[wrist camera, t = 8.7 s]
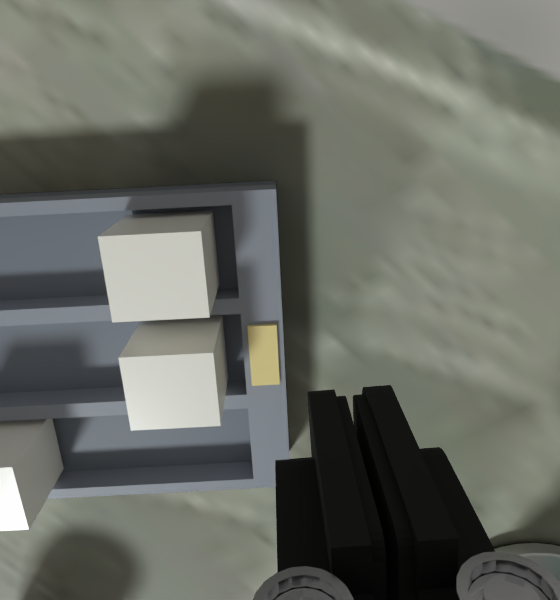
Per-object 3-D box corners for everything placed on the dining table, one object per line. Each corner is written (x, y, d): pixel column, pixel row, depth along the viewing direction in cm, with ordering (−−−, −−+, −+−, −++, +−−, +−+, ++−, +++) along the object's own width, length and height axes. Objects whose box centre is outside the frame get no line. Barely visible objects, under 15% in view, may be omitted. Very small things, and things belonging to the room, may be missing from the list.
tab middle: (222, 313, 26) (213, 352, 22) (228, 377, 27) (220, 426, 23) (142, 317, 26) (118, 357, 22) (152, 381, 27) (130, 430, 23)
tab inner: (51, 413, 28) (11, 467, 24) (63, 468, 29) (28, 529, 25) (-24, 417, 28) (-76, 471, 24) (-8, 472, 29) (-55, 534, 25)
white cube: (212, 210, 24) (200, 231, 20) (219, 283, 26) (209, 317, 21) (127, 214, 24) (97, 236, 20) (138, 287, 26) (112, 322, 21)
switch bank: (275, 180, 26) (276, 189, 23) (289, 452, 31) (291, 488, 28) (-130, 201, 26) (-183, 213, 23) (-45, 469, 31) (-79, 507, 28)
